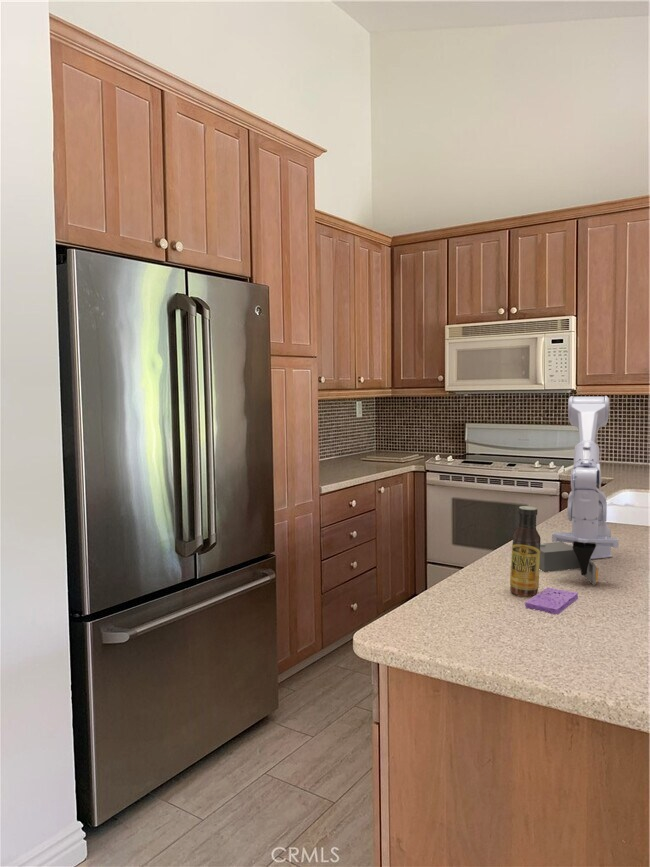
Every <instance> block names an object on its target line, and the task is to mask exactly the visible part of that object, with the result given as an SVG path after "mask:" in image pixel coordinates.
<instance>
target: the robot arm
mask: <svg viewBox="0 0 650 867" xmlns="http://www.w3.org/2000/svg"><path fill="white" fill-rule="evenodd" d="M567 401H568V403H567V404H568V406H567V415H568V421H569V423H570V426H573V427H576V428H577V430H578V437H579V442H578V443H577V444H575V446H574V450H573V466H572V467H573V468H572V469H570V488H571V491H570V492H569V493H568V496H567V497H568V499H567V520H569V521H570V522H571V532H556V531H555V532H554V531H553V532H552V534H551V543H553V542H563V543H567V544H568V543H571V544H572V545H571V546H573V550H574V552H575V554H576V556H577V558H578V561H579V564H580V568H581V569H580V568H579V569H580V572H581V573H580V574H581V576H586V574H587V568H588V564H589V561H590V560H594V559H595V560H596V559H604V558H605V559H606V558H613V557H614V556H613V554H612V548H614V549H618V548H619V544H620V543H619V542H620V541H619V540H620V538H618V537H612V531H611V527H610V525H609V524H607V523H606V522H607V518H608V517H607V513H608V512H607V509H608V507H607V505H608V504H607V502H608V501H607V495H606V494H605V492H603V491H602V490H601V488H602V470H601V464H600V446H599V445H598V443H597V436H598V432H599V430H600V428H603V427H605V426H607V425H608V424H607V423H609V418H610V417H609V416H610V398H609V397H608V396H607V395H604V396H574V395H571V396H569V398H568V400H567ZM597 486H598V487H597Z"/></svg>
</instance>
